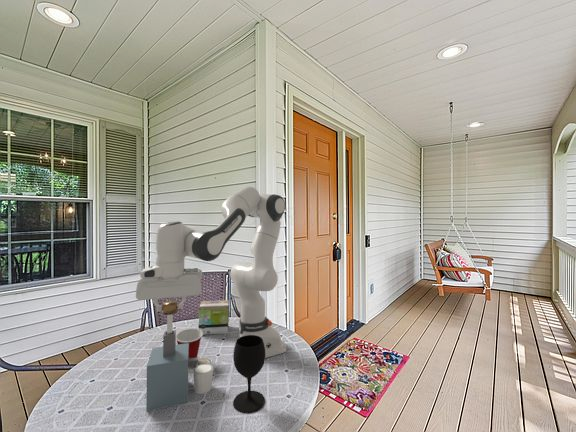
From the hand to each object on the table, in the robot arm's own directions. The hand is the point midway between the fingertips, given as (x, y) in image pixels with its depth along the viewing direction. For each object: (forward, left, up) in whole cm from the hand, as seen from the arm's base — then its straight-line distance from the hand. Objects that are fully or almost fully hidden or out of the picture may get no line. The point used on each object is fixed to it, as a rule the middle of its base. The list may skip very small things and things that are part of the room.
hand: (170, 310), depth 90 cm
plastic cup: (-6, -19, -29) cm, 35 cm away
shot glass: (-11, 0, -29) cm, 31 cm away
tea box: (-18, -48, -29) cm, 59 cm away
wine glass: (-25, +12, -29) cm, 40 cm away
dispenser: (-1, 0, -29) cm, 29 cm away
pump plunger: (0, 0, -8) cm, 8 cm away
